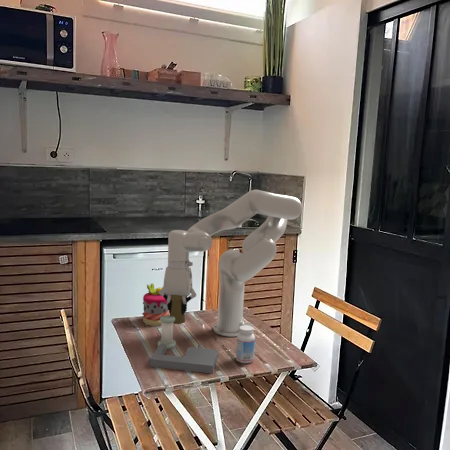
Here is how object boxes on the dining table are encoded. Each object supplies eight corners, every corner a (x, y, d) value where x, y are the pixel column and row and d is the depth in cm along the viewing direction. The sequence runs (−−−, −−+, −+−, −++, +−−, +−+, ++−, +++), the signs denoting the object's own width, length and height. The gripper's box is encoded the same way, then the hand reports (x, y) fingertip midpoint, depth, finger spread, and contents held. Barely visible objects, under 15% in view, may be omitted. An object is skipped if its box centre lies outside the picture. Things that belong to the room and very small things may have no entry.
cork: (182, 324, 166) (182, 295, 164) (166, 322, 167) (166, 293, 165) (187, 319, 171) (187, 290, 170) (171, 317, 173) (172, 289, 171)
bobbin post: (177, 342, 164) (178, 315, 162) (173, 349, 158) (174, 322, 156) (160, 340, 165) (161, 314, 163) (155, 348, 158) (156, 320, 157)
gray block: (218, 356, 154) (218, 349, 154) (212, 373, 142) (212, 365, 142) (160, 350, 156) (160, 343, 156) (150, 366, 144) (150, 359, 144)
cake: (171, 318, 188) (172, 282, 185) (165, 327, 177) (166, 290, 175) (146, 316, 189) (147, 280, 186) (139, 325, 178) (139, 288, 176)
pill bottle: (255, 357, 155) (257, 326, 153) (250, 365, 149) (253, 332, 147) (238, 354, 157) (240, 323, 155) (233, 361, 151) (235, 329, 149)
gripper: (203, 263, 168) (201, 311, 171) (158, 260, 171) (158, 307, 173) (198, 268, 161) (197, 318, 164) (152, 265, 163) (152, 314, 166)
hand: (177, 312), depth 169 cm, fingers closed on cork, 4 cm apart
